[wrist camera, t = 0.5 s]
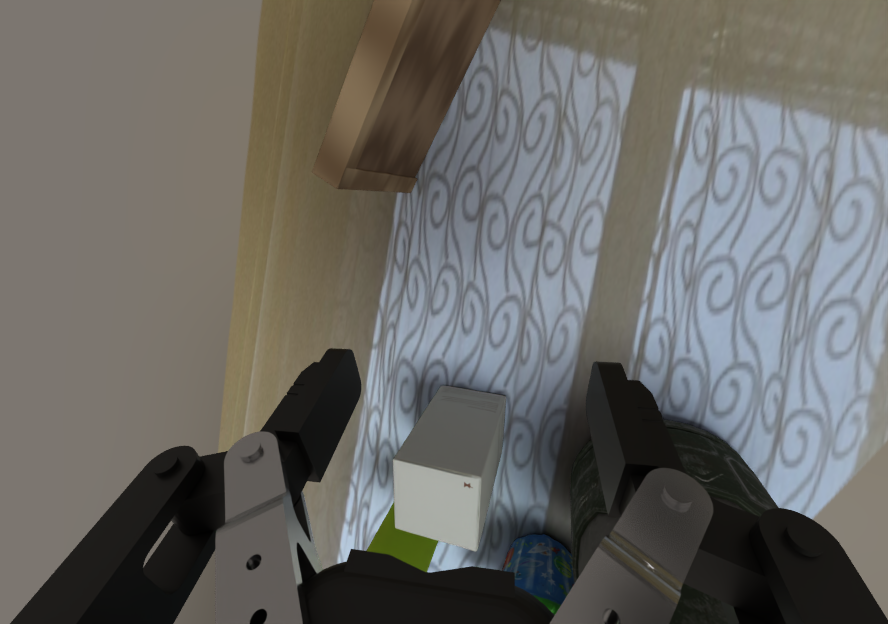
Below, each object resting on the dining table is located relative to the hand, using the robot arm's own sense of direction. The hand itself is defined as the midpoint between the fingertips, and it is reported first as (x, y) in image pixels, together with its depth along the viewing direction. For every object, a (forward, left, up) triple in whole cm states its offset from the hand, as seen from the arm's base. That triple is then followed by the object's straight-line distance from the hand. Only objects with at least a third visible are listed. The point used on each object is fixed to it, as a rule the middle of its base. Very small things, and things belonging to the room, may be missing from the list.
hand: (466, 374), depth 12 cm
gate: (-9, -14, -22) cm, 28 cm away
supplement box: (+17, +4, -24) cm, 30 cm away
